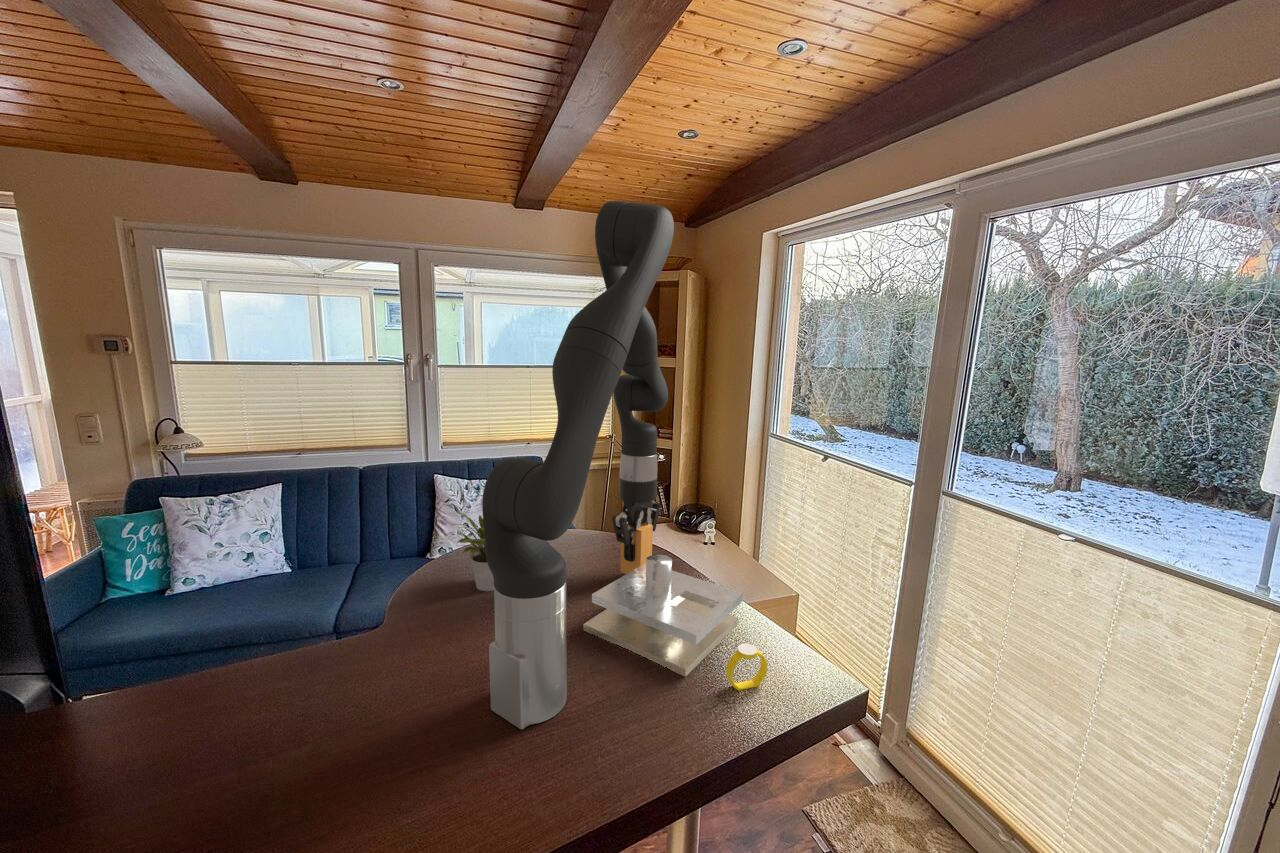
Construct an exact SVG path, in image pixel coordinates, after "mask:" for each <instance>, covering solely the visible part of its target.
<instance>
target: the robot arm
mask: <svg viewBox="0 0 1280 853" xmlns="http://www.w3.org/2000/svg"><path fill="white" fill-rule="evenodd" d="M674 223H675V222H674V218H673V215H672V213H671V211H670V210H669V209H667V208H666V207H664V206H662V205H657V204H654V203H653V204H652V203H642V202H634V201H633V202H632V201H623V200H621V201H620V200H611V201H607V202H605V203H603V205H602V206H601V207H600V209H599V211H598V212H597V216H596V219H595V224H594V225H595V226H594V242H595V250H596V254H597V259H598V261H599V262H598V263H599V266H600V270H601V274H602V277H603V282H604V285H605V291H604V292H602V293H601V294H599V295H598V296H596V297H595V298H594V299H592V300H591V301H590V302H589V303H587V304H586V305H585V306H584V307H583V308H581V309H580V310H579V311H578V312H577V313H575V315H574V316H573V317H572V318H571V320H570V321H569V323H568V325H567V327H566V328H565V331H564V333H563V336H562V339H561V341H560V342H559V346H558V348H557V351H556V353H555V355H554V359H553V363H552V372H551V373H552V384H553V390H554V396H555V401H556V409H557V422H556V423H557V424H556V429H555V433H554V437H553V439H552V442H551V445H550V447H549V449H548V453H547V455H546V457H545V459H544V461H543V462H542V461H536V460H532V459H526V458H520V457H511V458H507V459H504V460H501V461H499V462H498V463H497V464H496V465H494V467H493V468H492V470H491V471H490V472H489V474H488V476H487V478H486V480H485V483H484V487H483V492H482V493H483V494H482V502H481V503H482V504H481V507H482V511H481V512H482V519H483V525H484V537H485V549H486V558H487V563H488V566H489V568H490V570H491V572H492V574H493V578H494V590H493V599H494V600H493V601H494V603H493V604H494V606H493V607H494V635H495V636H494V637H495V638H494V641H492V642H490V644H489V646H488V650H489V651H488V655H489V663H488V664H489V690H490V691H489V692H490V710H491V711H492V712H494V713H495V714H496V715H498V716H500V717H501V718H503V719H504V720H505V721H507V722H509V723H510V724H512V725H513V726H515V727H517V729H519V730H524V729H525V728H526V727H528V726H530V725H534V724H536V725H537V724H540V723H541V724H542V722H545V721H548V720H550V719H552V718H554V717H555V716H556V715H558V714H559V713H560V712H561V711H562V710H563V709H564V707H565V705H566V704H567V694H568V693H567V691H568V690H567V689H568V688H567V684H568V683H567V682H568V681H567V679H568V678H567V670H568V669H567V564H566V561H565V560H566V559H564V557H563V554H561V553H560V552H559V551H558V550H557V549H555V548H554V546H552V544H550V542H549V541H554V540H557V539H558V538H560V537H562V536H563V535H565V533H566V532H567V531H568V529H569V528H570V526H571V525H572V524H573V521H574V519H575V517H576V515H577V513H578V512H579V507H580V505H581V502H582V498H583V495H584V490H585V488H586V484H587V481H588V476H589V472H590V468H591V464H592V460H593V456H594V452H595V449H596V444H597V441H598V438H599V435H600V432H601V429H602V426H603V423H604V420H605V417H606V413H607V412H608V409H609V408H608V407H609V405H610V403H611V399H612V396H613V399H614V402H615V406H616V410H617V413H618V417H619V422H620V428H621V451H620V452H621V455H620V462H619V490H618V492H619V494H618V495H619V498H620V500H621V501H622V503H623V504H622V509H621V513H620V514H619V515H613V516H612V519H611V521H612V524H613V528H614V529H613V530H614V534H615V539H616V541H617V542H619V543H621V542H622V543H624V558H625V560H627V561H630V562H633V561H634V560H635V541H636V533H638V530H639V529H640V525H641V524H644V523H646V525H649V524H650V525H653V532H656V529H657V524H658V520H659V515H660V511H661V503H659V502H657V501H655V500H656V499H657V495H658V494H657V493H658V492H657V491H658V490H657V489H658V456H657V455H658V453H657V452H658V450H657V449H658V429H657V427H656V426H655V425H654V424H652V423H649V422H645V421H642V420H638V419H637V418H636V417H635V416H634V414H633V412H652V413H653V412H655V413H656V412H660V411H662V410H663V409H664V408H665V406H666V405H667V403H668V400H669V391H668V386H667V383H666V382H667V381H666V380H665V377H664V375H663V372H662V370H661V366H660V364H659V357H658V356H659V355H658V332H657V328H656V324H655V323H654V320H653V317H652V316H651V313H650V312H649V311H648V309H647V307H646V305H647V302H648V300H649V298H650V295H651V293H652V291H653V290H654V287H655V284H656V283H657V281H658V279H659V277H660V275H661V273H662V270H663V268H664V265H665V264H666V261H667V259H668V256H669V253H670V250H671V246H672V244H673V238H674V232H675V224H674ZM622 371H623V372H624V373H625V374H622V375H621V373H622ZM628 524H629V525H631V526H635V527H634V528H631V527H628V526H629V525H628ZM628 531H629V532H631V538H630V537H629V532H628ZM622 535H623V536H622Z"/></svg>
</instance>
